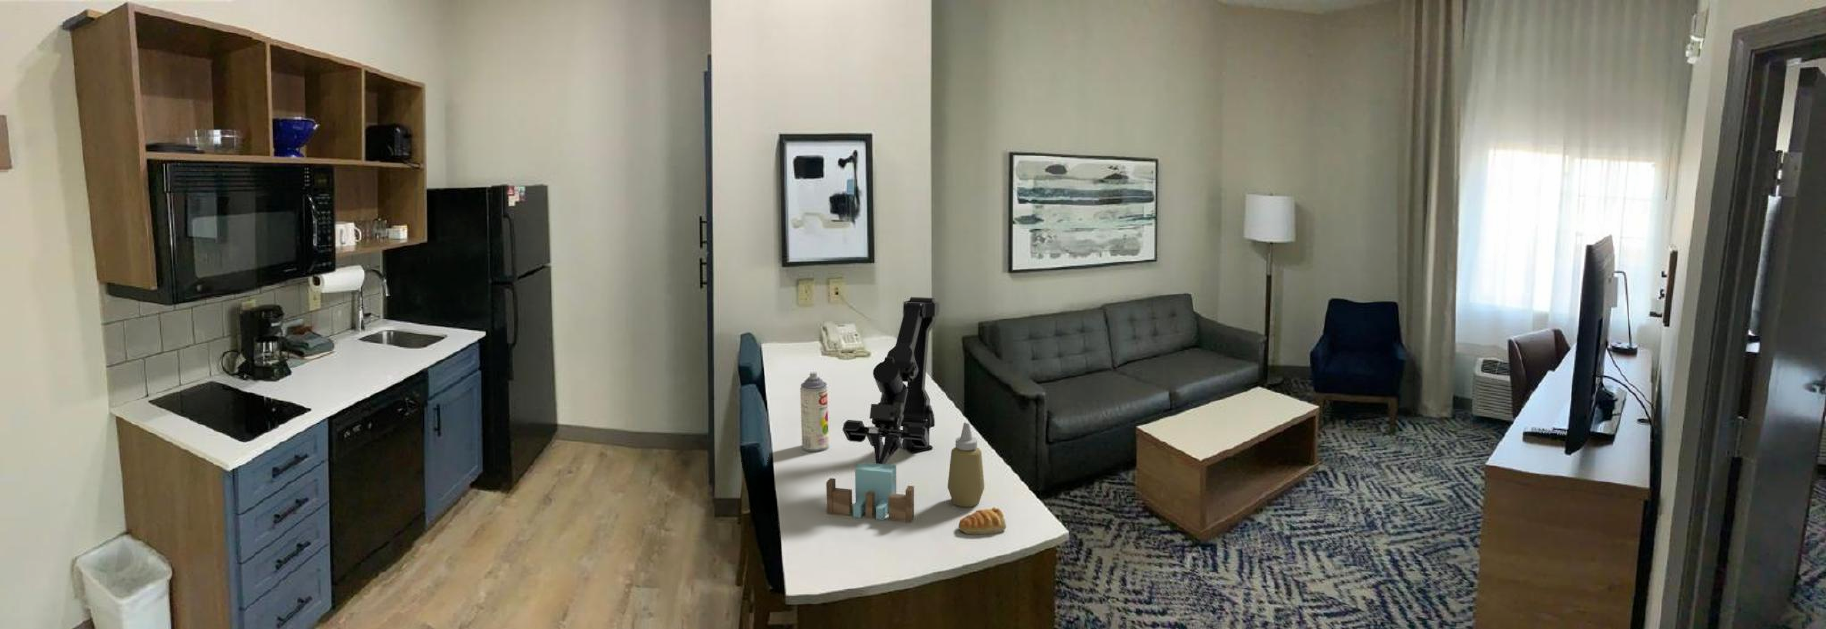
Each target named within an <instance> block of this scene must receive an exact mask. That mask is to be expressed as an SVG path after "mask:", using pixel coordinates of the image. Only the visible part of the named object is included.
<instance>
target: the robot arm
mask: <svg viewBox="0 0 1826 629" xmlns="http://www.w3.org/2000/svg"><path fill="white" fill-rule="evenodd" d="M902 303H903V304H902V307H903V309H902V319H901V322H900V323H901V324H900V328H899V330H898V335H897V338H896V339H897V340H896V343H895V346H894V347H893V348H891V349H889V350H888V352H887V355H886V357H884V361H880V362H879V363H877V365H876V366H875V367H874V368H873V370H872V375H873V376H872V377H873V378H874V381H875V383H876V386H877V388H878V391H879V392H880V393H881V396H880V400H879V402H878V403H871V404H870V411H869V419H870V420H871V424H872V425H874V426H871V425H870V426H865V424H864V422H863V420H855V419H847V420H846V421H845V422H844V423H843V426H842V431H843V432H842V433H843V434H844V436H845V438H846V440H847V441H849V442H854V443H862V442H864V441H866V438H867V440H868V441H869V445H870V446H871V447H873V449H874V450H873V451H874V458H875V463H876V464H887V462H888V461H889V460H890V458H891V457H892V456H893V455H894V454H895V453H896V452H897V450H902V449H904V450H905V451H907V452H908V453H911V454H915V453H919V452H924V451H928V450H929V451H930V450H932V449H934V448H933V446H932V445H930V429H932V428H934V427H935V426H936V422H935V420H936V418H935V413H934V410H933V407H932V405H931V398H930V397H929V394H928V392H927V390H926V378H927V377H926V375H927V364H928V350H929V336H930V332H931V330H932V329H933V328H934V327H935V325H936V324H937V317H938V316H939V314H940V303H939V302H938V301H936V298H934V297H922V296H921V297H917V296H914V297H913V296H911V297H910V298H909V299H908V300H906V301H903V302H902ZM905 383H907V384H905ZM901 427H902V429H901ZM883 438H884V442H883Z"/></svg>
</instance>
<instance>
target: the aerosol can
mask: <svg viewBox="0 0 1826 629" xmlns="http://www.w3.org/2000/svg"><path fill="white" fill-rule="evenodd" d="M799 390H800V391H799V392H800V393H799V394H800V419H801V420H800V421H801V449H802V450H803V451H805V452H807V453H820V452H824V451H826V450H828V449H829V448H830V444H829V410H828V408H829V407H828V406H829V404H828V400H829V398H828V386H827V383H826V381H824V380H823V379H821V378H820V376H818V373H817V372H816V371H811V372H810V373H809V376H808V377H807V378H806V379H805V380H804V381H803V382H801V383H800V389H799Z"/></svg>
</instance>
